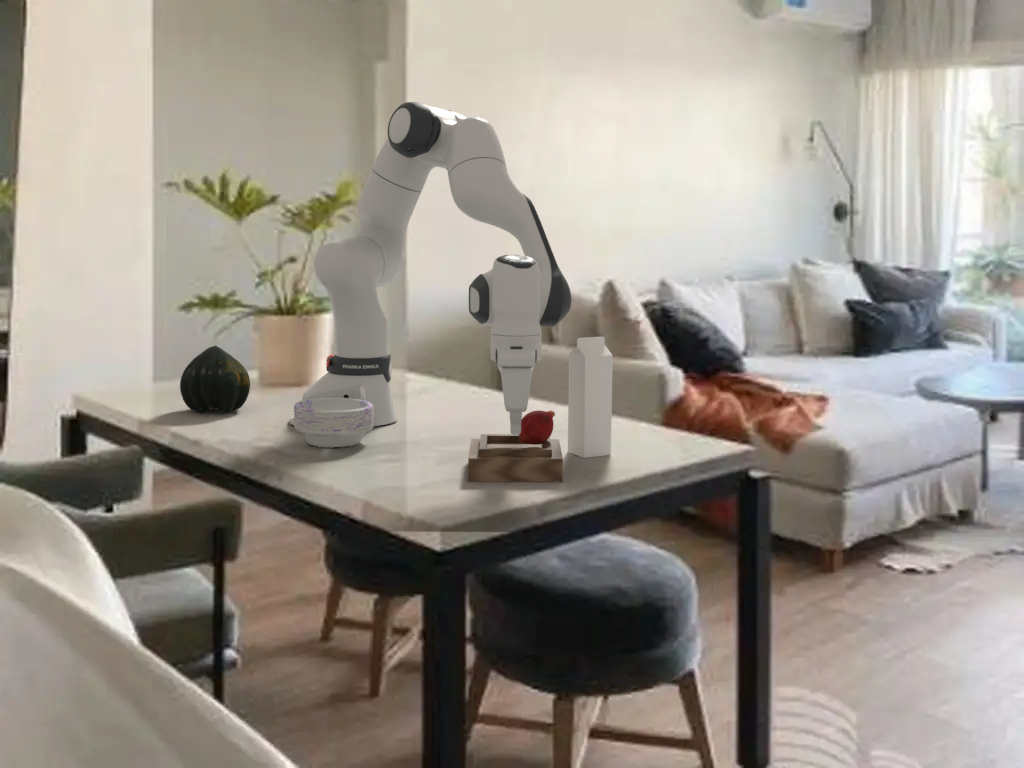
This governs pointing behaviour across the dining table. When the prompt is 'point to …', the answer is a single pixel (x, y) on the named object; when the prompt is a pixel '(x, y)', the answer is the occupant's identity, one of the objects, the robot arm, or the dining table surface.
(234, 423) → the dining table surface
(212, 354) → the squash
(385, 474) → the dining table surface
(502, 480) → the walnut pedestal
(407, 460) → the dining table surface
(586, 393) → the milk
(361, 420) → the paper bowls
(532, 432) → the onion
